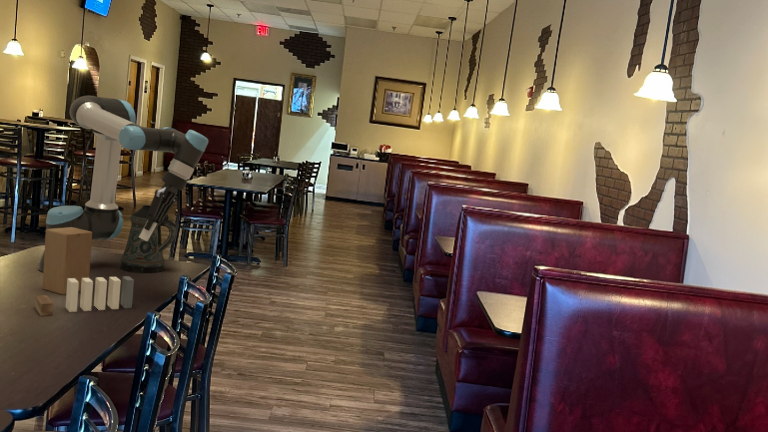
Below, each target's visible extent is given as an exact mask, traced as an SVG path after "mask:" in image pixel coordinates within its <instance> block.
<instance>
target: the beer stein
mask: <svg viewBox="0 0 768 432" xmlns="http://www.w3.org/2000/svg"><path fill="white" fill-rule="evenodd" d="M149 208H150V205H142V207H141V208H139V209H138V210H136V211H135V212H133V213H132V214H131V215H130V216H129V217H130V218H129V220H130V222H131V225H130V228H129V234H128V238H127V241H126V245H125V248H124V251H123V254H122V255H121V257H120V269H122V270H123V271H126V272H131V273H138V274H154V273H158V272H161V271H163V270H164V266H165V263H166V261H165V258H164V253H163V251H164V250H166V249H167V248H168V247H169V246H171V244H172V243H173V242H174V240H175V238H176V236H177V227H176V223H175V222H174V221H172V220H171V219H169V218H170V217H169V215H168V214H169V213H167V215H166V216H165V218H164V219H163V221H162V222H160V223H161V224H158V223H157V225H156V227H155V229H154V231H153V232H152V234H151V236H150V238H149V240H148V241H145V240H143V239H141V238H139V236H140V234H141V232H142V230H143V228H144V226H145V225H146V223H147V221H148V219H147V218H146V215H147V213H148V210H149ZM161 227H165V228H167V229H168V231H169V234H168V236H167V238H166V239H165V240H164V241H163V240H162V228H161ZM162 241H163V242H162Z"/></svg>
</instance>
